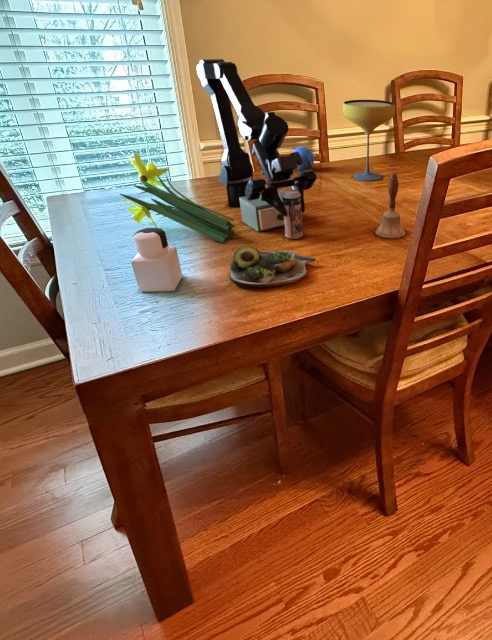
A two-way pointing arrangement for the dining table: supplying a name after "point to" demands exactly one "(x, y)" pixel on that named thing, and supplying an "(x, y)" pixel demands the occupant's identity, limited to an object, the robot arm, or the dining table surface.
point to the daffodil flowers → (176, 205)
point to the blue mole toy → (305, 158)
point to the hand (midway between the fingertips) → (295, 213)
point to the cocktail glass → (368, 123)
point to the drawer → (270, 217)
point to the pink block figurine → (155, 261)
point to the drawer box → (254, 211)
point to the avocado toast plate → (266, 267)
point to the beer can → (292, 213)
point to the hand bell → (391, 214)
